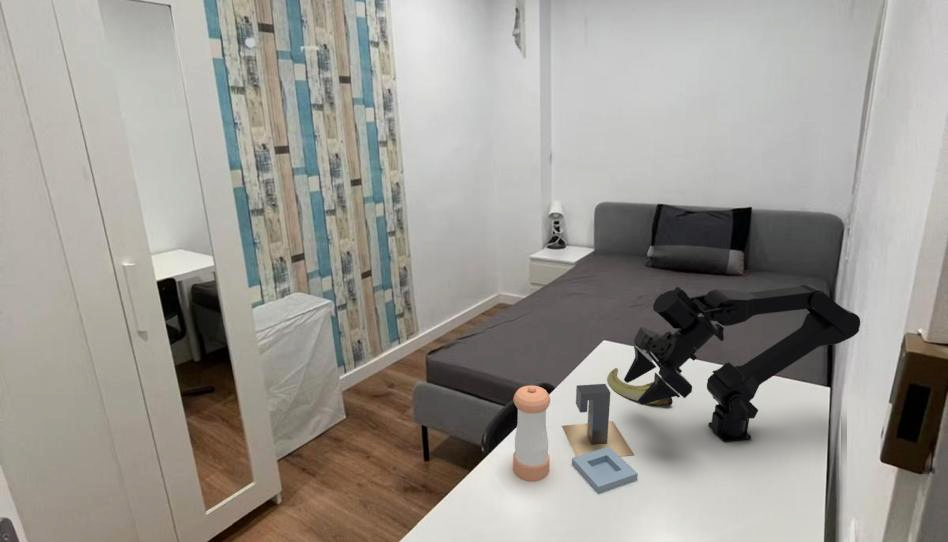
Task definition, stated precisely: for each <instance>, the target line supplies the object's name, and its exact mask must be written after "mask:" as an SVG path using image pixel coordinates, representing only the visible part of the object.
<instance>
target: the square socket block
mask: <svg viewBox="0 0 948 542" xmlns="http://www.w3.org/2000/svg"><path fill="white" fill-rule="evenodd" d="M571 465H572V466H573V468H574V469H575V470H576V471H577V472H578V473H579V474H580V475H581V477H582V478H584V480H585V481H586V482H587V483H588V484H589V486H590V487H592V488H593V490H594V491H595V492H596V494H599V495H600V494H601V493H604V492H607V491H610V490H612V489H615V488H618V487H621V486H624V485H626V484H627V485H628V484H630V483H632V482H635V481H638V472H637V471H636V470H635V469H633V467H632V466H631V465H629V463H627V462H626V460H624V459H623V458H622V457H620V456H619V455H618V454H617V453H616V452H614V451H613V450H612V449H611V448H610V447H606V448H602V449H599V450H596V451H593V452H590V453H587V454H583V455H580V456H577V457H576V456H575V457H572V458H571Z"/></svg>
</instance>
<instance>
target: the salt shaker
mask: <svg viewBox="0 0 948 542" xmlns="http://www.w3.org/2000/svg"><path fill="white" fill-rule="evenodd" d="M513 403H514V405H515V407H516V409H517V425H516V429H515V437H514V452H513V453H512V470H513V472H514V475H516V476H517V478H519V479H521V480H523V481H526V482H537V481H539V482H540V481H542V480H544V479H545V478H546V477H548V475H549V473H550V455H549V438H548V431H547V418H546V417H547V409H548V408H549V406H550V404H551V396H550V394H549V393H548V392H547V390H546V389H544V388H543V387H541V386H538V385H524V386H521V387H520V388H518V389H517V390H516V392H515V394H514V396H513Z"/></svg>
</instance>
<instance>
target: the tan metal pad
mask: <svg viewBox="0 0 948 542" xmlns="http://www.w3.org/2000/svg"><path fill="white" fill-rule="evenodd" d="M587 426H588V422H587V423H578V424H577V423H575V424H567V425H561V427H562V429H563V431H564V434H565V436H566V438H567V440H568V443H569V445H570V446H571V449H572V451H573V453H574V456H575V457H577V456H580V455H583V454H587V453H590V452H593V451H596V450H599V449H602V448H606V447H610V448H611V449H612V450H613V451H614V452H616V453H617V454H618V455H619V456H620V457H621V458H622V457H629V456H631V457H632V456H635V454H634V452H633V450H632V449H631V447H630V446H629V444H628V443H627V440H625V438H624V436H623V435H622V433H621V432H620V430H619V428H618V427H617V426H616V424H615V422H614V420H611V421H610V420H609V423H608V439H607V444H598V445H591V443H590V440H589V438H588V436H587Z"/></svg>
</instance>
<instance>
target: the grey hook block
mask: <svg viewBox="0 0 948 542" xmlns="http://www.w3.org/2000/svg"><path fill="white" fill-rule="evenodd" d="M575 390H576V391H575V392H576V393H575V394H576V395H575V405H576V407H577V409H578V411H579V413H587V423H588V426H587V436H588V438H589V440H590V443H591V445H598V444H607V439H608V423H609V421H610V403H611V391H610V389H609V388H608V386H607V384H606V383H597V384H581V385H579V384H578V385H576V389H575Z"/></svg>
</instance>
